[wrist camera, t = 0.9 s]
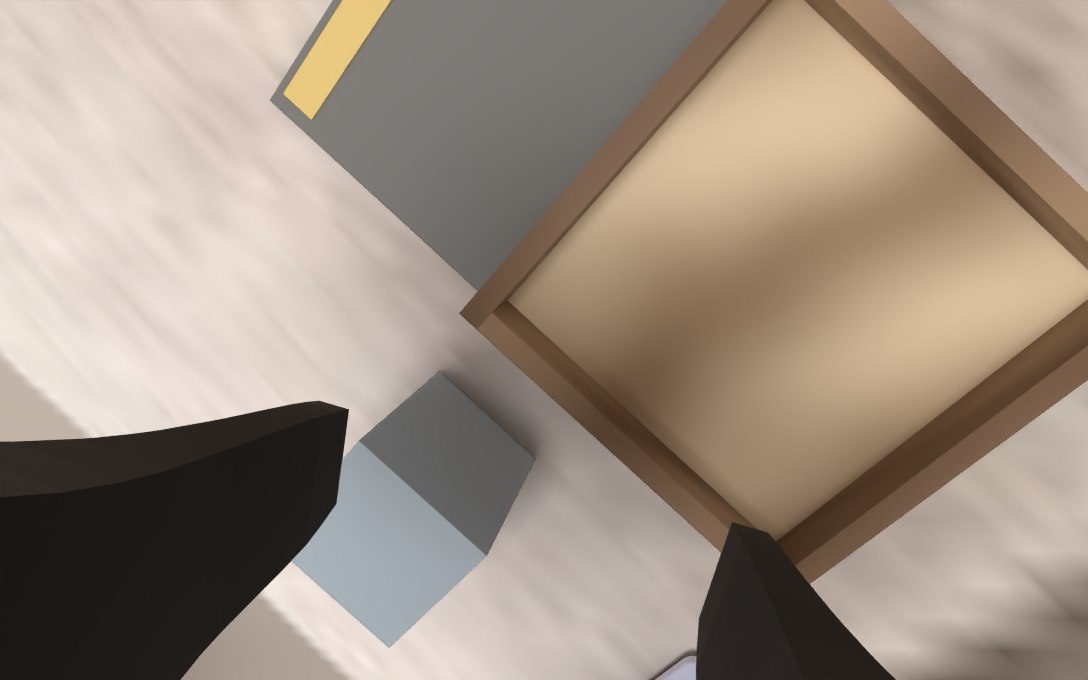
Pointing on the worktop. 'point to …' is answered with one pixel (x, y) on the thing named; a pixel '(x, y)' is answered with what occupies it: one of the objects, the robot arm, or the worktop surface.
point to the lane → (479, 104)
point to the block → (415, 509)
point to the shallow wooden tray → (803, 279)
